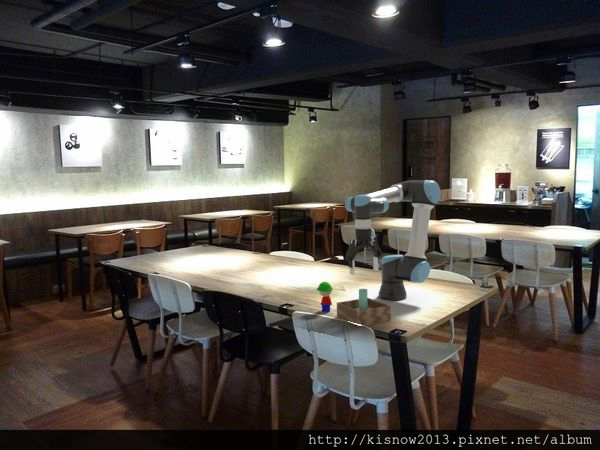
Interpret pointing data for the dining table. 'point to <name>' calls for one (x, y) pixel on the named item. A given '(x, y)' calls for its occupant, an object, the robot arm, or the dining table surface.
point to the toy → (325, 295)
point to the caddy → (364, 312)
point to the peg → (362, 299)
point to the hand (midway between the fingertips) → (364, 272)
